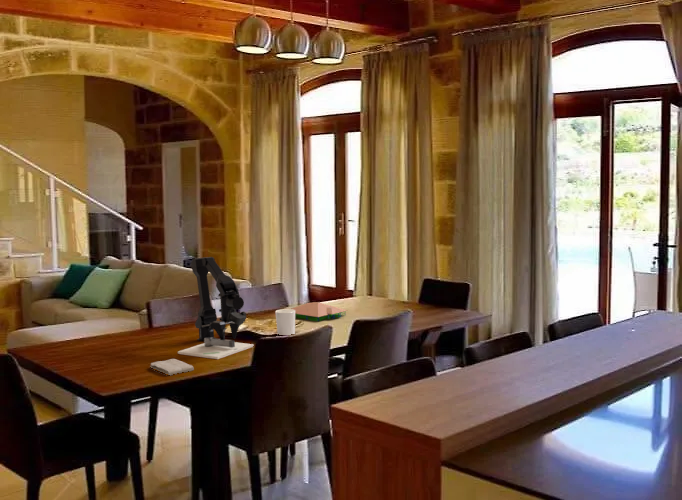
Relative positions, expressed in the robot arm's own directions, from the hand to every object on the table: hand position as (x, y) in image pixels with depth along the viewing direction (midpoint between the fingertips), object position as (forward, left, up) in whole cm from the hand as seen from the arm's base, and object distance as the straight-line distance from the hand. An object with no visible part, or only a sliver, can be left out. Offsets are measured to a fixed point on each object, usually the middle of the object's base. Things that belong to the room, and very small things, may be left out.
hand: (228, 340), depth 332 cm
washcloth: (+3, -40, -4) cm, 41 cm away
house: (-3, +78, -4) cm, 78 cm away
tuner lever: (-1, -6, -2) cm, 6 cm away
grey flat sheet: (-2, -7, -3) cm, 8 cm away
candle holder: (+10, +31, -3) cm, 33 cm away
